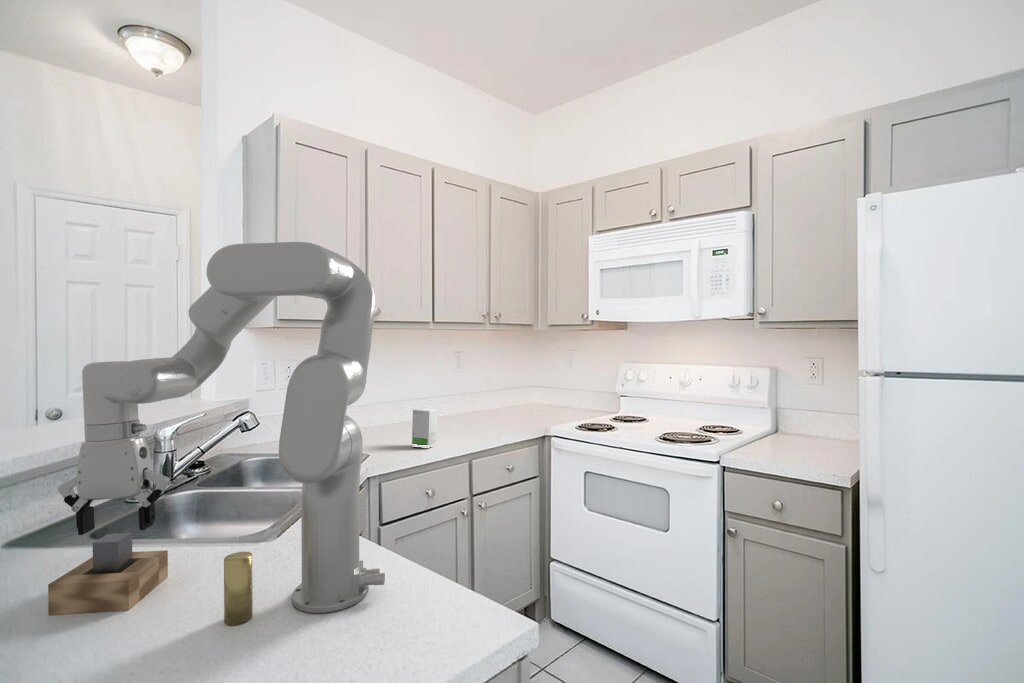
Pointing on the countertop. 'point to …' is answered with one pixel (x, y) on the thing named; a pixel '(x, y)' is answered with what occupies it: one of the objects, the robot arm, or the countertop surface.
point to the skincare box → (424, 426)
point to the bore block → (107, 585)
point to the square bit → (112, 553)
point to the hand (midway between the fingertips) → (116, 529)
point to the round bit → (238, 588)
